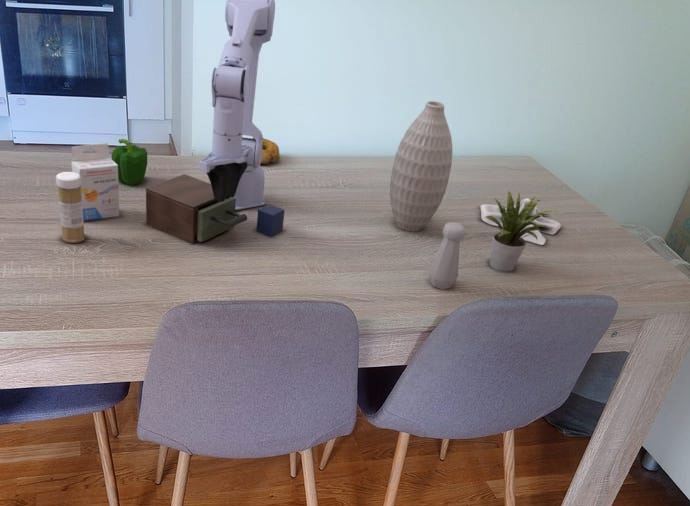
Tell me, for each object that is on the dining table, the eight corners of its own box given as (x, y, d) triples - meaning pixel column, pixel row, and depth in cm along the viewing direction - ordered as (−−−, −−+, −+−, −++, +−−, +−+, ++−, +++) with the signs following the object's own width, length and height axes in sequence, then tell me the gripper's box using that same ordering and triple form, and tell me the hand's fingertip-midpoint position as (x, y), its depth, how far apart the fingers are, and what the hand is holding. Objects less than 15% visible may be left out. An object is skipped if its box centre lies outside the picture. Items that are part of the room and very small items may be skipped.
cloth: (464, 209, 178) (470, 186, 175) (521, 203, 186) (528, 181, 182) (522, 248, 162) (530, 223, 159) (582, 240, 170) (591, 216, 166)
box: (256, 230, 156) (258, 209, 153) (267, 225, 159) (269, 204, 156) (271, 236, 154) (273, 215, 151) (282, 230, 157) (284, 209, 154)
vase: (442, 223, 169) (471, 103, 153) (428, 242, 160) (457, 116, 143) (392, 210, 173) (415, 91, 157) (375, 228, 163) (398, 103, 147)
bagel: (239, 162, 189) (240, 144, 186) (248, 149, 198) (249, 132, 195) (275, 168, 188) (277, 150, 185) (282, 155, 197) (284, 138, 194)
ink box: (82, 222, 151) (77, 154, 142) (74, 213, 154) (69, 146, 145) (120, 216, 155) (118, 150, 146) (111, 207, 158) (108, 142, 150)
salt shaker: (423, 276, 146) (437, 217, 138) (450, 277, 146) (465, 219, 139) (430, 290, 141) (445, 230, 134) (458, 291, 142) (474, 232, 134)
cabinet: (229, 226, 156) (231, 191, 151) (192, 243, 147) (193, 207, 143) (183, 208, 162) (184, 174, 157) (146, 224, 153) (145, 188, 148)
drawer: (252, 234, 152) (255, 205, 148) (220, 250, 144) (222, 220, 141) (191, 209, 160) (191, 181, 156) (157, 223, 152) (157, 194, 148)
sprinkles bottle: (82, 232, 146) (77, 170, 139) (87, 242, 143) (83, 178, 136) (59, 235, 145) (53, 171, 137) (64, 245, 141) (58, 180, 134)
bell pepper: (155, 181, 173) (155, 141, 167) (132, 190, 167) (131, 148, 161) (129, 172, 176) (128, 132, 171) (106, 180, 170) (104, 139, 165)
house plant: (523, 291, 145) (548, 217, 135) (460, 269, 150) (480, 196, 141) (542, 267, 155) (566, 197, 146) (482, 247, 160) (502, 178, 151)
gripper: (220, 144, 131) (217, 213, 138) (266, 129, 141) (260, 194, 149) (191, 134, 134) (189, 202, 141) (238, 120, 144) (234, 184, 152)
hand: (224, 197), depth 145 cm, fingers open, 3 cm apart
